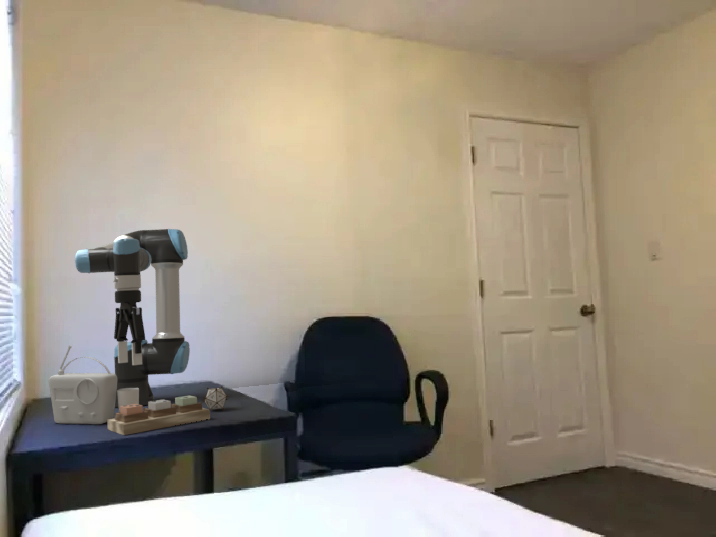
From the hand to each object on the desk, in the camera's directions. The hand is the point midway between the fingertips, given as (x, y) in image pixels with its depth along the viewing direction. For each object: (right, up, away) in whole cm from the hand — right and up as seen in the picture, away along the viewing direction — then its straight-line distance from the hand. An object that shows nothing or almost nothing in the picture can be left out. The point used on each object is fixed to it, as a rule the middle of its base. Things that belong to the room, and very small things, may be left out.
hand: (130, 363), depth 198 cm
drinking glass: (-5, -20, +13) cm, 25 cm away
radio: (-20, -21, +13) cm, 32 cm away
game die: (+20, -20, +25) cm, 38 cm away
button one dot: (+14, -15, +12) cm, 24 cm away
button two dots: (+7, -15, +6) cm, 18 cm away
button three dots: (+1, -15, 0) cm, 15 cm away
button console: (+7, -20, +6) cm, 22 cm away
